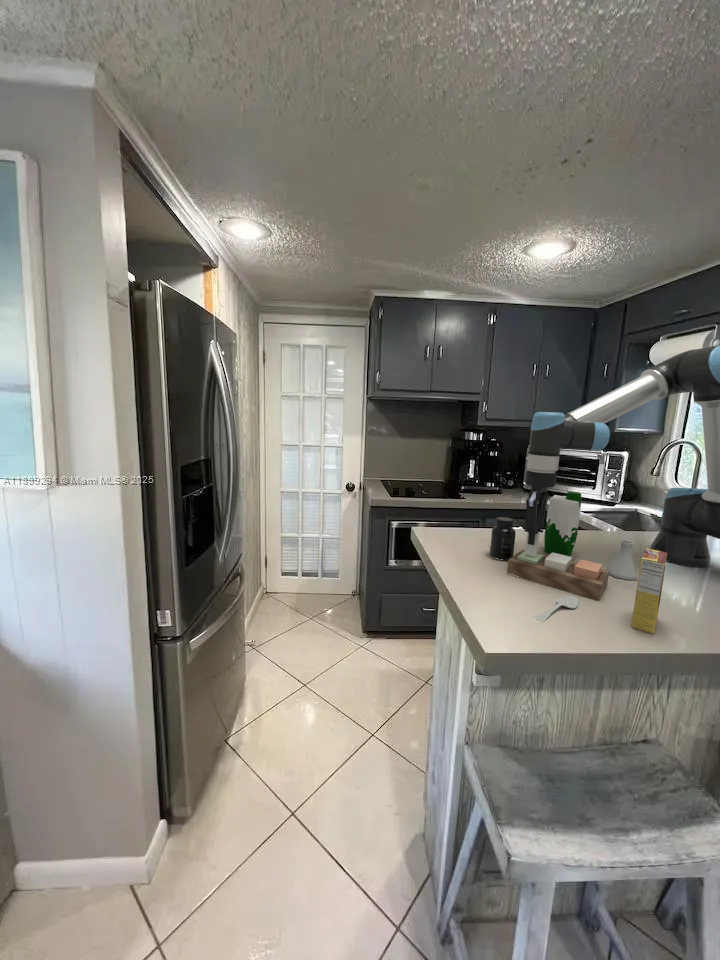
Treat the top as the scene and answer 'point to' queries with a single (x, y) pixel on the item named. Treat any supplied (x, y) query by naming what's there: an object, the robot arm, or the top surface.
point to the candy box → (649, 590)
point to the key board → (559, 577)
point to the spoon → (570, 600)
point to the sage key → (530, 558)
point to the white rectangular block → (558, 562)
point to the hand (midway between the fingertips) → (530, 554)
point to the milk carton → (562, 523)
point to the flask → (623, 562)
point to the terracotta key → (588, 569)
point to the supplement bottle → (503, 539)
